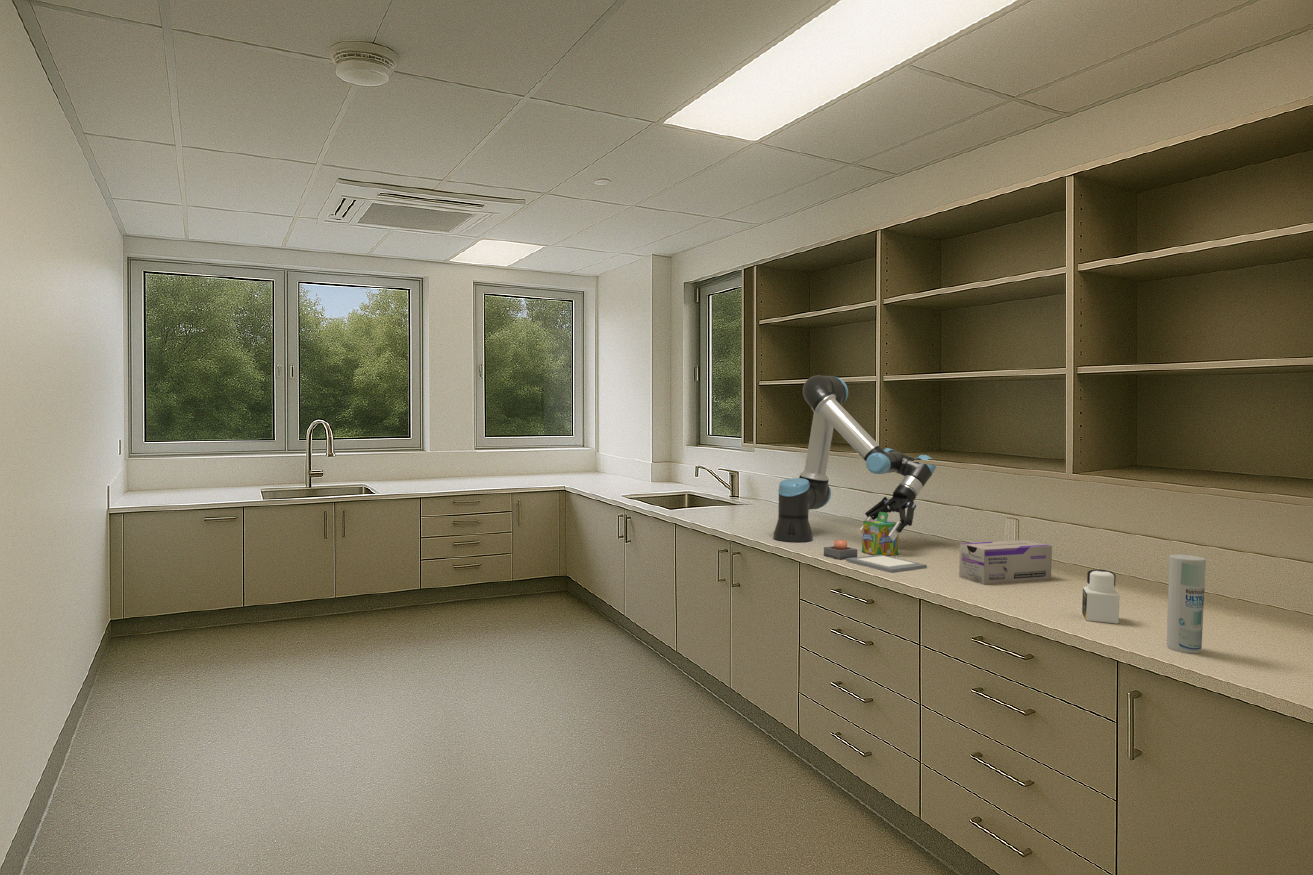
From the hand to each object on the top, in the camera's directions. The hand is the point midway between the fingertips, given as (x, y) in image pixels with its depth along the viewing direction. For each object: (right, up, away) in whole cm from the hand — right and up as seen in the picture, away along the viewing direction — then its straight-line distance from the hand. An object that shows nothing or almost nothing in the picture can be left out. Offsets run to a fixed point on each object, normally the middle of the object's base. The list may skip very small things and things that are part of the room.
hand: (876, 535), depth 275 cm
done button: (-14, -4, -6) cm, 16 cm away
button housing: (-14, -7, -5) cm, 16 cm away
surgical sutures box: (+29, -9, -37) cm, 48 cm away
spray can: (+37, -11, -107) cm, 113 cm away
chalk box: (+2, -7, +1) cm, 7 cm away
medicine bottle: (+32, -10, -83) cm, 89 cm away
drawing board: (-2, -7, -18) cm, 20 cm away
